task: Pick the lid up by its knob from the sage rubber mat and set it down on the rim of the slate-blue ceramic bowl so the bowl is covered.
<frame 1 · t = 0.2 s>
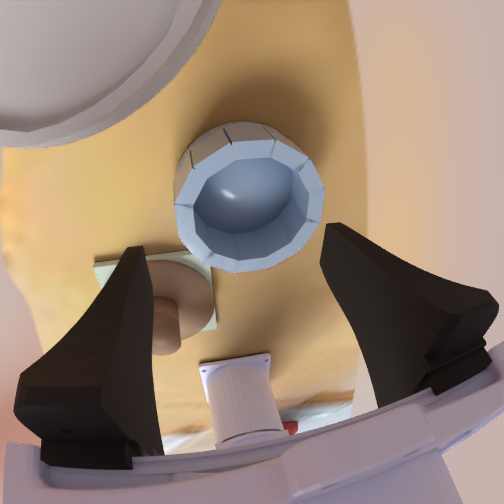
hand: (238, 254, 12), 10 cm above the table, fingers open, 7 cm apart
disposable coffee cup: (116, 15, 13), on the table
bowl: (239, 183, 21), on the table
lid: (159, 302, 26), point 1 cm above the table, touching mat
mat: (159, 297, 26), on the table
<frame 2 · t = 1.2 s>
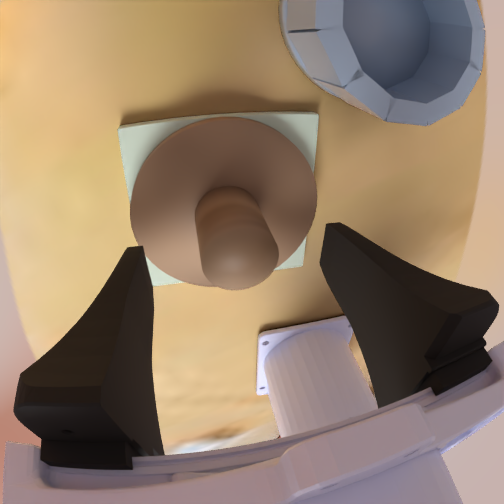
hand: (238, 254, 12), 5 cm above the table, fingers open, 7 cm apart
bowl: (365, 21, 12), on the table
lid: (224, 206, 16), point 1 cm above the table, touching mat
mat: (222, 201, 16), on the table
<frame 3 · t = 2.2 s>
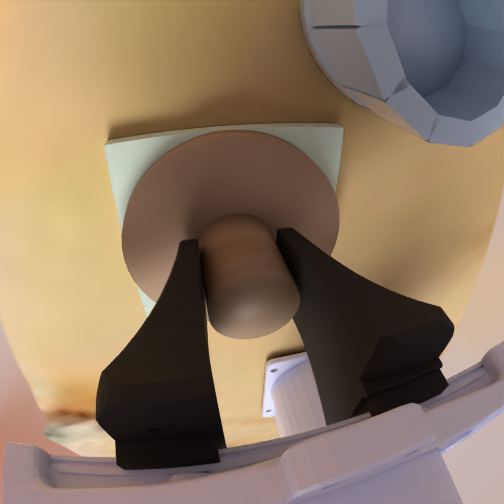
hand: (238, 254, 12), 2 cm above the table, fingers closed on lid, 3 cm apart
bowl: (397, 20, 9), on the table
lid: (232, 234, 13), point 1 cm above the table, touching gripper, mat
mat: (229, 226, 14), on the table
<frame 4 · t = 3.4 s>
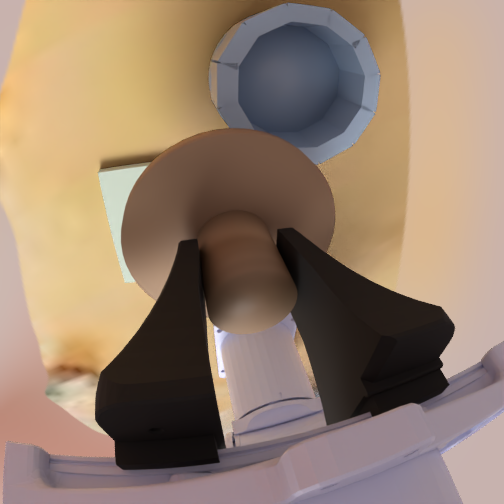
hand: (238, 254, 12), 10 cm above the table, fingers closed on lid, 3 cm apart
bowl: (281, 77, 17), on the table
lid: (229, 231, 14), point 8 cm above the table, touching gripper
mat: (175, 221, 22), on the table
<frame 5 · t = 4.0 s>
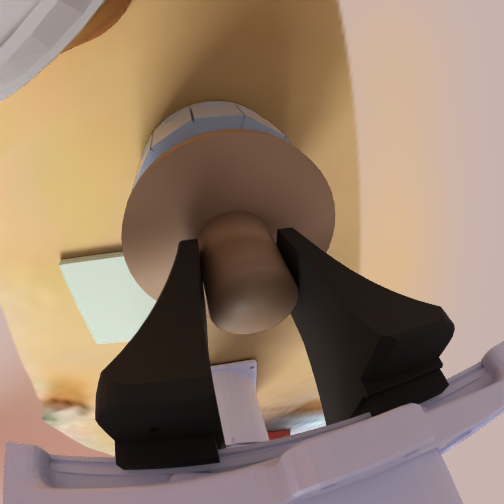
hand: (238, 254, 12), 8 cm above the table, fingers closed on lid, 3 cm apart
bowl: (212, 171, 19), on the table
lid: (229, 231, 14), point 7 cm above the table, touching gripper
mat: (131, 298, 23), on the table
when the fingers open (7 cm above the table, at t = 4.6 s): lid stays where it is, resting on bowl.
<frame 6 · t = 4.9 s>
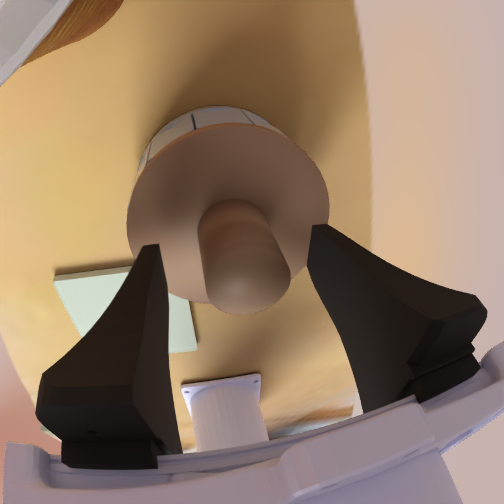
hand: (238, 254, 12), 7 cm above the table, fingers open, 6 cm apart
bowl: (216, 182, 17), on the table
lid: (229, 220, 14), point 4 cm above the table, touching bowl
mat: (130, 314, 22), on the table
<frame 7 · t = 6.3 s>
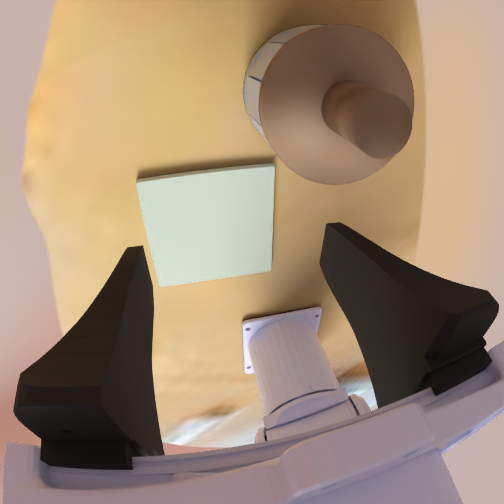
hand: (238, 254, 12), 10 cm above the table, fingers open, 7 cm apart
bowl: (311, 90, 18), on the table
lid: (340, 104, 15), point 4 cm above the table, touching bowl
mat: (210, 227, 23), on the table
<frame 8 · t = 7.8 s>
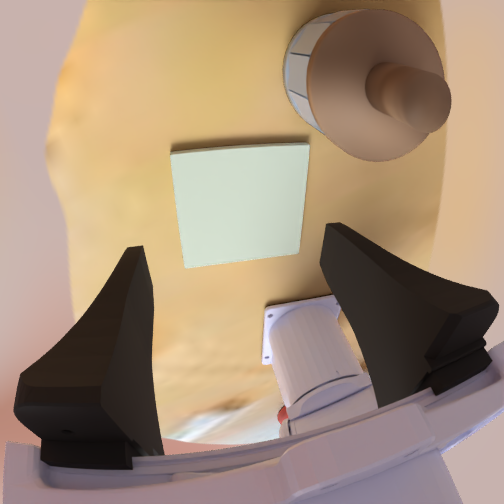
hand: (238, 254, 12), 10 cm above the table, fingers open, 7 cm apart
bowl: (345, 74, 18), on the table
lid: (379, 84, 15), point 4 cm above the table, touching bowl
mat: (241, 205, 23), on the table
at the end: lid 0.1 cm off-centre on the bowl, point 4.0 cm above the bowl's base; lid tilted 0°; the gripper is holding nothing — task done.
